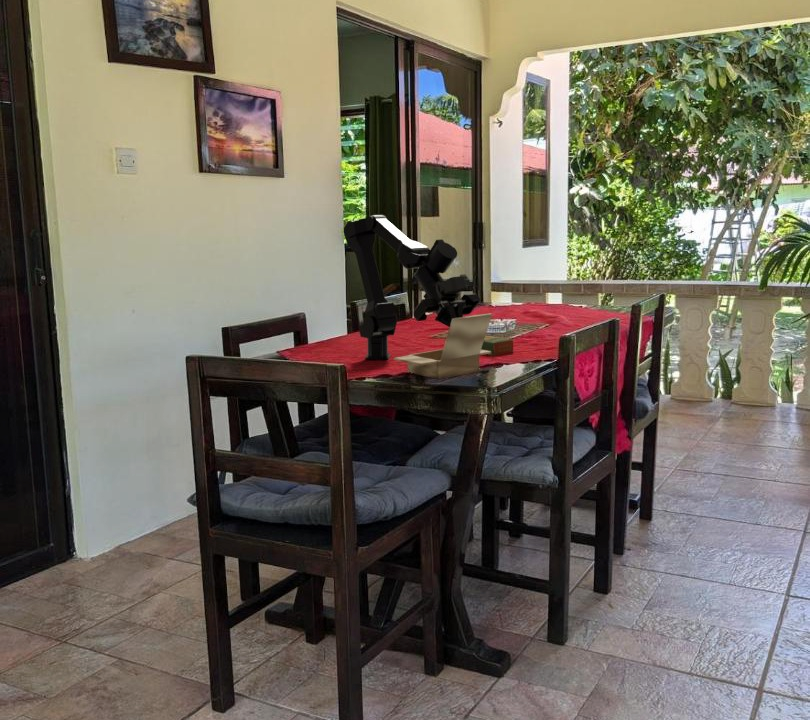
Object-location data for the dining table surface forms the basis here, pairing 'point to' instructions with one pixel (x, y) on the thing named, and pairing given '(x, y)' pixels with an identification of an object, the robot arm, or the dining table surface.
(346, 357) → the dining table surface
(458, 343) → the flap
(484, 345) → the carton
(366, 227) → the robot arm
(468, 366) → the open box
